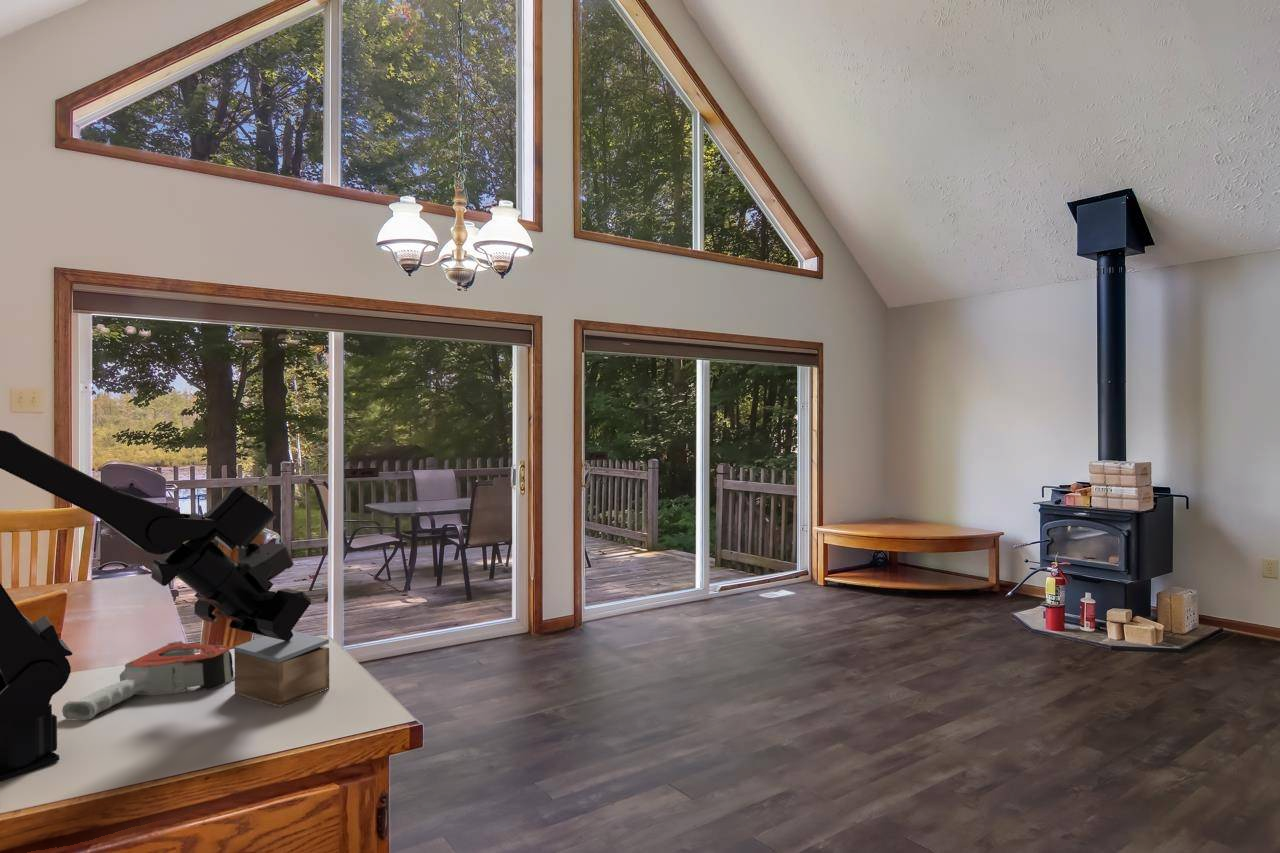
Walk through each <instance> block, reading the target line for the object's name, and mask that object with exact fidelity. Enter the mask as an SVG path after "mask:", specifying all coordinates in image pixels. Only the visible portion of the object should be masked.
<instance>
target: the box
mask: <svg viewBox="0 0 1280 853" xmlns="http://www.w3.org/2000/svg"><path fill="white" fill-rule="evenodd" d="M233 654H234V677H235V680H234V694H235V693H237V694H236V695H238V694H239V696H241V697H245V696H246V697H245V698H249V699H251V698H252V700H254V699H255V701H257V700H258V702H261V701H262V702H261V703H264V702H266V703H265V704H267V703H269V704H268V705H270V704H271V705H270V706H273V705H275V706H274V707H277V708H281V707H284V706H286V705H285V704H287V705H290V704H292V703H294V701H295V702H298V701H300V700H303V699H306V698H308V696H309V697H311V696H314V695H316V693H317V694H319V693H318V692H320V691H322V692H325V691H326V690H325V689H327V688H329V689H330V647H328V646H325V645H323V646H321V647H318V648H316V649H313V650H310V651H308V652H305V653H303V654H300V655H298V656H295V657H293V658H290V659H287V660H285V661H282V662H280V663H277V662H274V661H270V660H266V659H262V658H259V657H255V656H251V655H247V654H244V653H240V652H236V651H234V653H233ZM324 690H325V691H324ZM320 693H321V692H320ZM313 694H314V695H313ZM305 697H306V698H305ZM299 699H300V700H299ZM297 700H298V701H297ZM291 702H292V703H291ZM283 705H284V706H283ZM280 706H281V707H280Z"/></svg>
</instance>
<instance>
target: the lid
mask: <svg viewBox="0 0 1280 853" xmlns="http://www.w3.org/2000/svg"><path fill="white" fill-rule="evenodd" d="M291 631H292V633H293V637H292V638H291V639H290V641H285V640H280V639H276V638H272V637H267V636H261V637H259V638H256V639H253V640H250V641H247V642H245V643H241V644H239V645H236V646H234V647H233V648H234V651H236V652H240V653H244V654H247V655H251V656H255V657H259V658H262V659H266V660H270V661H274V662H277V663H280V662H282V661H285V660H287V659H290V658H293V657H295V656H298V655H300V654H303V653H305V652H308V651H310V650H313V649H316V648H318V647H321V646H325V645H327V644H330V639H329V638H326V637H321V636H317V635H312V634H308V633H303V632H299V631H296V630H291Z"/></svg>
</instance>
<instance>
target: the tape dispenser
mask: <svg viewBox="0 0 1280 853" xmlns="http://www.w3.org/2000/svg"><path fill="white" fill-rule="evenodd" d="M233 648H234V647H232V646H226V645H223V644H217V645H215V644H213V645H212V644H203V643H201V644H200V643H187V642H185V643H184V642H183V641H182V640H179V641H178V640H177V641H172V642H168V643H167V644H166V645H164V646H162V647H160V648H157V649H156V650H153V651H150V652H148V653H147V654H144V655H143V656H139V658H136V659H134V660H132V661H129V662H127V663H125V665H124V670H123V671H121V673H120V674H119V681H118V682H116V683H113V684H110V685H108V686H106V687H104V688H101V689H98V690H96V691H94V692H92V693H90V694H88V695H85V696H84V697H81V698H78V699H76V700H69V701H68V702H66V703H65V704H64V705H63V706H62V709H61V712H62V716H63V717H64V718H65V719H66V720H68V719H78V720H77V721H89V720H92V719H93V718H94V717H95V716H96V715H97V714H99V713H101V712H103V711H105V710H107V709H109V708H111V707H113V706H115V705H116V704H120V703H121V702H122V701H124V700H127V699H129V698H131V697H132V696H133V695H139V696H157V695H160V696H161V695H168V694H177V693H183V692H186V691H188V688H194V687H201V688H202V690H203V689H204V690H205V689H206V690H212V689H217V688H220V687H222V686H224V684H225V683H227V682H229V683H231V682H230V681H232V680H234V681H235V671H234V667H233V664H234V663H233V657H232V652H230V651H231V649H233ZM195 649H196V650H201V651H203V652H202V653H196V650H195ZM232 682H233V681H232ZM227 684H228V683H227ZM225 685H226V684H225Z"/></svg>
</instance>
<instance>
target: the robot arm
mask: <svg viewBox="0 0 1280 853" xmlns="http://www.w3.org/2000/svg"><path fill="white" fill-rule="evenodd" d="M0 469H1V470H3V471H5V472H7V473H9V474H11V475H13V476H15V477H16V478H18V479H21V480H23V481H25V482H27V483H29V484H31V485H33V486H35V487H37V488H38V489H41V490H42V491H45V492H47V493H49V494H51V495H53V496H56V497H57V498H59V499H61V500H63V501H66V502H67V503H70V504H72V505H74V506H76V507H78V508H80V509H81V510H84V511H86V512H88V513H90V514H92V515H94V516H95V517H97V518H98V519H99V520H101V521H102V522H103V523H104V524H105V525H107V526H109V527H110V528H111V529H112V530H114V531H115V532H116V533H118V534H119V535H121V537H123V538H124V539H126V540H127V541H128V542H130V543H131V544H132V545H134V546H136V547H138V548H140V549H142V550H143V551H145V552H147V553H150V554H152V555H164V554H168V553H169V554H168V555H166V556H165V557H164V558H162V559H161V558H160V559H154V560H152V571H151V577H150V578H151V579H152V580H153V581H155V582H156V583H158V584H160V586H163V587H166V586H167V585H169V584H170V583H171V582H172V581H173V580H174V579H175V578H176V577H177V579H179V580H180V581H181V582H183V583H184V584H185V585H186V586H188V587H189V588H190V589H192V590H193V591H194V592H195V593H194V597H195V598H197V600H196V602H195V603H194V614H195V615H196V616H197V617H199V619H201V620H203V621H206V622H210V623H216V622H217V620H218V617H217V616H216V615H218V616H219V617H221V618H223V619H228V620H231V622H230V623H229V627H230V629H234V630H239V631H243V632H246V633H247V632H248V633H252V634H255V635H258V636H262V637H264V636H267V637H272V638H276V639H280V640H285V641H290V639H291V638H292V637H293V633H292V631H293V629H294V628H295V626H296V624H298V622H299V621H300V620H301V618H302V616H304V613H305V612H306V611H307V610H308V608H309V606H310V605H311V604H312V598H310V597H309V596H308V595H307V594H306V593H305V592H304V591H302V590H297V589H291V588H287V587H286V588H283V589H282V588H281V589H279V590H277V591H274V590H273V591H272V590H271V589H272V587H273V586H274V583H273V582H272V581H271V580H273V579H274V578H275V577H277V576H279V575H280V574H282V573H283V572H285V571H286V570H289V569H290V568H292V567H293V566H294V564H295V563H294V561H293V559H292V557H291V554H290V553H289V550H288V548H287V546H286V544H284V543H283V544H281V543H277V542H266V543H264V542H262V543H260V544H259V545H260V546H259V545H258V544H257V543H255V542H254V540H255V539H256V538H257V537H258V536H259V535H260V534H261V533H262V532H263V531H264V530H265V529H266V528H267V527H268V526H269V525H270V524H271V522H273V521H274V520H275V519H276V517H277V516H276V514H275V513H274V512H273V511H272V510H271V508H269V507H268V506H267V505H266V504H265V503H264V502H262V501H259V500H257V499H256V498H255V497H254V496H252V495H250V494H249V493H248V492H246V491H245V490H243V489H242V488H241V487H240V486H237V485H233V486H231V487H230V488H229V489H228V490H227V491H226V492H225V493H224V495H223V496H222V498H220V500H219V501H217V503H215V504H214V505H213V506H212V507H211V508H210V509H209V510H208V511H207V512H206V513H205V514H204V515H200V514H198V513H196V512H191V513H181V512H180V511H179V510H177V509H174V508H171V507H169V506H166V505H163V504H160V503H157V502H153V501H150V500H148V499H145V498H141V497H138V496H135V495H132V494H129V493H126V492H123V491H120V490H117V489H115V488H113V487H111V486H109V485H107V484H106V483H103V482H101V481H100V480H98V479H96V478H94V477H93V476H90V475H89V474H86V473H84V472H82V471H80V470H79V469H76V468H74V467H72V466H71V465H69V464H67V463H66V462H64V461H61V460H59V459H58V458H55V457H54V456H51V455H50V454H48V453H46V452H44V451H42V450H40V449H38V448H36V447H34V446H32V445H30V444H29V443H26V442H25V441H23V440H21V439H20V438H19V437H18V436H17V435H16V434H14V433H13V432H9V431H7V430H3V429H0ZM214 539H215V540H216V541H218V543H219V544H221V545H222V546H224V547H226V548H227V549H228V550H229V551H233V550H234V549H235V548H238V551H237V552H238V555H237V556H238V557H237V558H238V559H237V560H238V562H236V561H235V560H234V558H232V557H231V556H229V555H228V554H227V553H226V552H225V551H223V550H222V549H221V548H220V547H219V546H217V544H215V542H213V540H214ZM216 609H217V611H216V612H215V613H216V615H215V614H213V612H214V611H215V610H216ZM72 655H73V652H72V651H71V649H70V648H69V646H68V645H67V644H66V642H65V641H64V640H63V639H61V638H59V636H58V634H57V631H56V628H55V626H54V624H53V623H52V622H51V621H50V619H49V618H48V617H47V616H46V615H43V616H41V617H40V618H38V620H35V622H33V621H31V619H30V618H28V617H27V616H26V615H24V613H23V612H21V610H20V609H19V608H18V607H17V605H16V603H15V602H14V601H13V600H12V597H10V595H9V594H8V591H6V589H5V588H4V586H3V585H2V583H1V582H0V781H2V780H5V779H7V778H8V779H9V778H10V777H13V776H16V775H19V774H23V773H26V772H28V771H29V772H30V771H32V770H34V769H37V768H40V767H43V766H46V765H49V764H52V763H56V762H57V761H59V760H60V755H59V754H58V753H56V751H57V750H58V716H57V715H56V714H53V707H52V704H51V703H50V702H51V700H52V698H53V695H55V694H56V693H59V691H61V690H62V689H63V687H64V686H65V685H66V684H67V683H68V681H69V678H70V675H71V672H72V671H71V665H70V662H69V660H68V658H67V657H71V656H72Z"/></svg>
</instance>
